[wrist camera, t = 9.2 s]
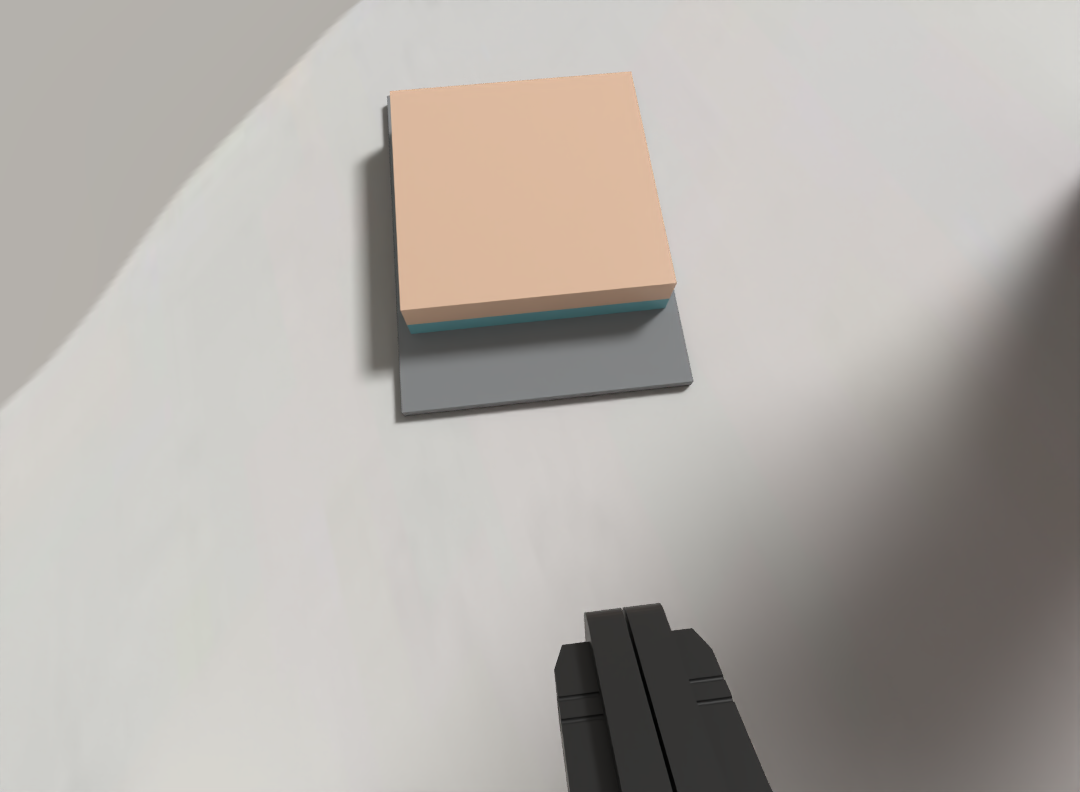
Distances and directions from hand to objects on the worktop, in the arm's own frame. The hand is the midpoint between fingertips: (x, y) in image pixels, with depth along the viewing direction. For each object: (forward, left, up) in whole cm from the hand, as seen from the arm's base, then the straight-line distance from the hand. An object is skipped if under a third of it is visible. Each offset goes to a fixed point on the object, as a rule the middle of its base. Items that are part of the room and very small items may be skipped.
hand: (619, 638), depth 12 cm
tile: (0, -11, -7) cm, 13 cm away
